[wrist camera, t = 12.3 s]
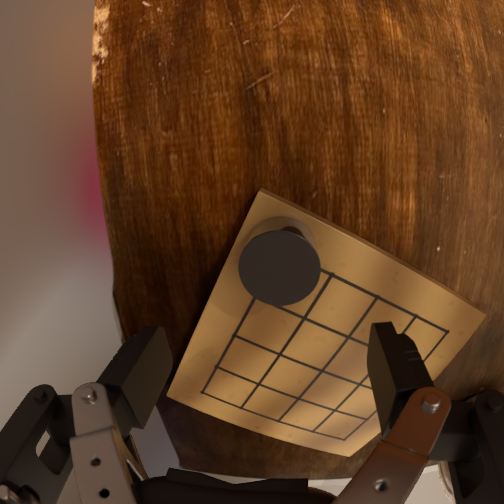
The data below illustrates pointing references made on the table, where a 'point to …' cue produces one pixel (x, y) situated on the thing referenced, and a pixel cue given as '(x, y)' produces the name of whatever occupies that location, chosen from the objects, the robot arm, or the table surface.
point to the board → (314, 339)
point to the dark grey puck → (280, 262)
